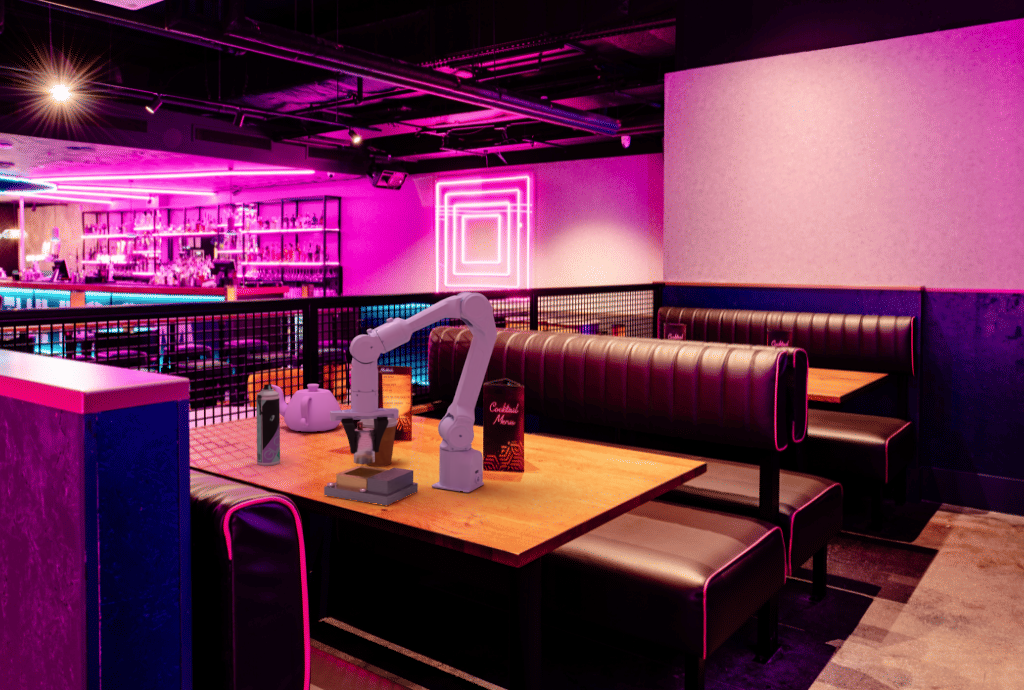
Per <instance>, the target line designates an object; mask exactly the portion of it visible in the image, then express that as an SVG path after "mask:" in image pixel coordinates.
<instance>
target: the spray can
mask: <svg viewBox="0 0 1024 690" xmlns="http://www.w3.org/2000/svg"><path fill="white" fill-rule="evenodd" d="M255 397H256V400H255V403H256V407H255V408H256V461H257V465H258V466H261V465H262V466H263V467H269V466H271V467H272V466H277V465H279V464H280V463H281V433H280V429H281V428H280V425H281V422H280V421H281V418H280V417H281V416H280V415H281V414H280V405H279V393H277V392H276V391H275V389H274V388H273V387H272V386H271V383H268V384H263V387H262V389H261V391H260V392H257V393H256V396H255ZM276 464H277V465H276Z"/></svg>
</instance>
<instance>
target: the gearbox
mask: <svg viewBox="0 0 1024 690" xmlns="http://www.w3.org/2000/svg"><path fill="white" fill-rule="evenodd" d="M335 475H336V476H335V482H327V483H326V485H325V486H324V487H323V490H324V491H323V496H324V495H327V496H326V497H328V496H334V497H339V498H338V499H340V498H345V499H344V500H346V499H351V500H350V501H352V500H357V501H356V502H358V501H363V502H362V503H364V502H370V503H377V504H382V505H389V504H391V503H393V502H395V501H397V500H399V501H401V500H403V499H402V498H404V497H406V496H408V495H410V494H412V493H414V494H416V493H418V492H417V491H418V487H419V483H418V482H415V481H414V470H413V469H406V468H399V467H392V468H390V469H388V468H387V469H385V468H378V467H374V466H366V465H360V466H358V465H357V466H354V467H351V468H349V469H345V470H343V471H340V472H337V473H336V474H335ZM415 492H416V493H415ZM412 495H413V494H412ZM410 496H411V495H410ZM334 497H333V498H334ZM408 497H409V496H408ZM406 498H407V497H406ZM400 499H401V500H400ZM404 499H405V498H404ZM397 502H398V501H397ZM395 503H396V502H395ZM393 504H394V503H393ZM391 505H392V504H391ZM389 506H390V505H389Z"/></svg>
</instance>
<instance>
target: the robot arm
mask: <svg viewBox="0 0 1024 690" xmlns="http://www.w3.org/2000/svg"><path fill="white" fill-rule="evenodd" d="M446 318H447V319H460V320H461V321H463V322H464V323H465V325H466V327H467V328H468V330H469V331H470V333H471V334H472V339H471V343H470V345H469V346H470V347H469V349H468V352H467V355H466V359H465V362H464V365H463V368H462V371H461V375H460V378H459V381H458V385H457V387H456V390H455V395H454V397H453V400H452V403H451V404H450V405H449V406H448V408H447V411H446V413H445V415H444V416H443V417H442V419H441V420H440V421H439V423H438V427H437V431H438V434H439V436H440V437H441V443H440V444H439V466H438V467H439V474H438V475H439V479H438V480H439V481H438V482H435V483H433V484H432V485H431V487H432V488H435V489H441V490H442V489H443V490H446V491H447V490H448V491H455V492H460V491H463V493H470V492H472V491H474V490H477V489H478V488H479V487H481V486H483V485H485V483H484V481H483V480H484V479H483V475H484V472H483V471H484V457H483V453H482V451H480V450H478V449H474V448H472V443H473V441H474V439H475V438H474V437H475V433H474V424H475V420H476V418H475V409H476V406H477V401H478V398H479V395H480V392H481V388H482V385H483V383H484V379H485V377H486V376H485V375H486V372H487V369H488V366H489V363H490V359H491V356H492V353H493V351H494V348H495V344H496V340H497V337H498V331H497V327H496V322H495V318H494V307H493V306H492V303H491V302H490V301H489V300H488V297H486V296H485V295H483V294H482V293H479V292H471V291H462V292H459V293H457V294H456V295H451V296H449V297H446V298H444V299H441V300H439V301H438V302H436V303H434V304H432V305H431V306H428V307H426V308H425V309H423V310H421V311H420V312H417V313H416V314H414V315H412V316H410V317H408V318H407V319H403V318H400V317H395V318H393V317H389V318H387V319H386V322H385V323H383V324H381V325H379V326H377V327H375V328H374V329H373V328H368V329H367V330H366V333H367V334H359V335H356V336H355V337H354V338H353V339H352V340H351V342H350V346H349V348H348V349H349V352H350V355H351V356H352V360H351V366H352V367H351V370H350V383H351V385H350V386H351V387H350V388H351V389H350V390H351V392H350V396H351V397H350V398H351V399H350V400H351V401H350V402H351V403H350V406H351V407H350V408H349V409H341V410H338V411H330V420H331V421H337V420H341V422H340V424H341V425H342V427H343V429H344V432H345V435H346V437H347V440H348V444H349V451H350V453H351V454H352V455H354V454H355V441H354V436H355V429H356V424H355V421H356V420H359V421H360V420H361V419H374V429H375V452H379V447H380V442H381V439H382V436H383V434H384V432H385V430H386V428H387V426H388V423H389V421H388V418H396V419H399V416H400V415H399V414H400V413H399V409H398V408H396V407H392V408H390V407H389V408H385V407H384V408H383V407H380V408H379V369H378V359H379V357H380V355H381V354H386V353H389V352H391V351H392V350H394V349H396V348H398V347H399V346H401V345H403V344H406V343H408V342H409V341H410V340H411V337H412V335H413V333H415V332H416V331H420V330H421V329H424V328H426V327H428V326H430V325H432V324H434V323H436V322H439V321H441V320H443V319H446Z"/></svg>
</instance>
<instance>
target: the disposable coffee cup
mask: <svg viewBox="0 0 1024 690" xmlns="http://www.w3.org/2000/svg"><path fill="white" fill-rule="evenodd" d="M388 421H389V423H388V426H387V428H386V430H385V432H384V434H383V436H382V439H381V442H380V447H379V452H375V462H374V463H370V464H366V465H368V466H369V467H383V466H384V467H385V466H388V465H390V464H392V459H393V451H394V444H395V435H396V428H397V427H396V426H397V425H398V422H399V420H398V418H388ZM359 422H363V428H371V429H374V419H360V420H359Z"/></svg>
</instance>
